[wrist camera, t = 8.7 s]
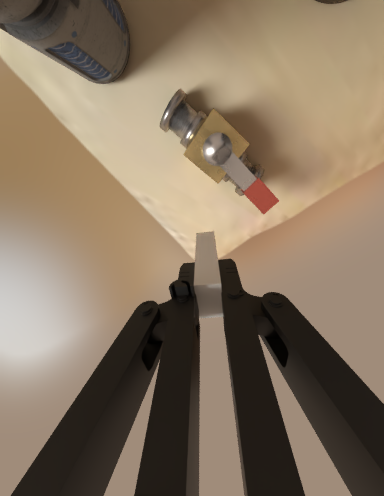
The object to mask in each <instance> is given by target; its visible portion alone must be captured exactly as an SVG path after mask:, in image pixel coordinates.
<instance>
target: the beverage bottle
mask: <svg viewBox="0 0 384 496" xmlns="http://www.w3.org/2000/svg"><path fill="white" fill-rule="evenodd" d="M0 28H1V29H2V30H4V31H6V32H7V33H9V34H10V35H12V36H13V37H15V38H17V39H19V40H20V41H22V42H24V43H25V44H27V45H29V46H31V47H32V48H34V49H36V50H37V51H39V52H41V53H43V54H44V55H46V56H48V57H50V58H51V59H53V60H55V61H56V62H58V63H60V64H62V65H63V66H65V67H67V68H68V69H70V70H72V71H74V72H75V73H77V74H79V75H81V76H82V77H84V78H86V79H87V80H89V81H92V82H94V83H98V84H107V83H110V82H113V81H115V80H116V79H117V78H118V77H119V76H120V75H121V74H122V72H123V71H124V69H125V67H126V65H127V61H128V57H129V50H130V38H129V31H128V25H127V22H126V19H125V16H124V13H123V11H122V9H121V7H120V4H119V3H118V1H117V0H0Z"/></svg>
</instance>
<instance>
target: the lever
mask: <svg viewBox="0 0 384 496" xmlns="http://www.w3.org/2000/svg"><path fill="white" fill-rule="evenodd" d="M203 155H204V158H205V160H206V161H207V162H208V163H209V164H211V165H213V166H220V167H221V168H222V169H223V170H224V171H225V172H226V173H227V174H228V175H229V176H230V177H231V178H232V179H233V180H234V181H235V182H236V184H237V185H238V186H239V187H240V188H241V191H242V192H243V193H244V194H245V195H246V196H247V198H248V199H249V200H250V201H251V202H252V203H253V204H254V205H255V206H256V207H257V208H258V209H259V210H260V211H261V212H262V213H263V214H265V213H266V212H267V211H268V210H269V209H271V208H272V207H273V206H274V205H275V204H276V203H277V202H279V200H278V199H277V198H276V197H275V196H274V194H273V193H272V192H271V191H270V190H269V189H268V188H267V187H266V185H265V184H264V183H263V182H262V181H261V180H260V179H259V178H258V177H256V176H254V175H253V174H252V173H251V172H250V171H249V170H248V168H247V167H246V166H245V165H244V164H243V163H242V162H241V161H240V160H239V158H238V157H237V156H236V155H235V154H234V153H233V152H232V143H231V140H230V139H229V137H228V136H227V135H225V134H224V133H213V134H211V135H210V136H209V137H208V138H207V139H206V140H205V142H204V145H203Z"/></svg>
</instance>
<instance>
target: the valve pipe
mask: <svg viewBox="0 0 384 496" xmlns="http://www.w3.org/2000/svg"><path fill="white" fill-rule="evenodd" d="M186 97H187V94H186V93H185V92H184V91H183V90H182V89H179V90H178V91H177V92H176V93H175V94H174V96H173V97H172V99H171V100H170V102H169V104H168V106H167V108H166V110H165V112H164V114H163V116H162V119H161V122H160V128H161V129H162V130H163V131H165V132H167V131H168V130H169V129H170V130H171V131H173V132H174V133H175V134H176V135H177V136H178V137H180V138H181V139H182V140H181V142H180V143H181V144H182V145H183V146H184V147H185V148H186V149H187V150H186V151H185V153H184V156H186V157H187V158H188V159H189V160H190V161H192V162H193V163H194V164H195V165H196V166H197V167H199V168H200V169H201V170H202V171H203V172H205V173H206V174H207V175H208V176H209V177H211V178H212V179H213V180H214V181H215V182H217V183H219V182H220V181H221V180H222V179H223V180H224V181H225V182H227V181H228V180H229V181H230V182H231V183H233V184H234V185H235V186H236V189H235V192H236V193H237V194H238V195H240V196H242V195H244V193H243V192H242V191H241V188H240V187H239V186H238V185H237V184H236V182H235V181H234V180H233V179H232V178H231V177H230V176H229V175H228V174H227V173H226V172H225V171H224V170H223V169H222V168H221V167H220V166H213V165H211V164H209V163H208V162H207V161H206V160H205V158H204V155H203V145H204V142H205V140H206V139H207V138H208V137H209V136H210V135H211V134H213V133H224V134H225V135H227V136H228V137H229V139H230V140H231V143H232V152H233V153H234V154H235V155H236V156H237V157H238V158H239V160H240V161H241V162H242V163H243V164H244V165H245V166H246V167H247V168H248V170H249V171H250V172H251V173H252V174H253V175H254V176H256V177H258V178H259V179H261V177H262V175H263V173H264V168H263V167H262V166H260V165H256V166H253V165H252V164H251V163H250V162H249V161H248V160H247V159H246V158H247V154H246V153H245V152H244V151H245V150H246V148H247V147H248V146H249V145H250V144H249V143H248V142H247V141H246V140H245V139H244V138H243V137H242V136H241V135H240V134H239V133H238V132H237V131H236V130H235V129H234V128H233V127H232V126H231V125H230V124H229V123H228V122H227V121H226V120H225V119H224V118H223V117H222V116H221V115H220V114H219V113H218V112H217V111H216V110H215V109H214V108H213V109H212V111H211V113H210V114H209V116H208V117H207V116H206V115H205V114H204V113H203V112H202V111H201V110H200V111H199V112H198V113H197V112H196V111H195V110H194V109H193V108H192V107H191V106H189V105H188V104H187V103H186V102H185V100H186Z"/></svg>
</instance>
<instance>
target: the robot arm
mask: <svg viewBox="0 0 384 496" xmlns="http://www.w3.org/2000/svg"><path fill="white" fill-rule="evenodd" d="M316 1H318V2H321V3H327V4H333V3H340V2H343V1H346V0H316ZM169 290H170V294H171V297H172V299H171V300H169V301H167V302H165V303H162V304H159V305H158V304H157V303H156V302H154V301H146V302H143V303H142V304H140V305H139V306H138V307H137V308H136V310H135V311H134V313H133V314H132V316H131V317H130V319H129V320H128V322H127V323H126V325H125V326H124V328H123V329H122V330H121V332H120V334H119V335H118V337H117V338H116V339H115V341H114V343H113V344H112V345H111V347H110V348H109V350H108V351H107V353H106V354H105V356H104V357H103V359H102V360H101V362H100V363H99V365H98V366H97V368H96V369H95V371H94V372H93V374H92V375H91V377H90V378H89V380H88V381H87V383H86V384H85V386H84V387H83V389H82V390H81V392H80V393H79V395H78V396H77V398H76V399H75V401H74V402H73V404H72V405H71V406H70V408H69V410H68V411H67V412H66V414H65V415H64V417H63V418H62V420H61V422H60V423H59V424H58V426H57V427H56V429H55V430H54V432H53V433H52V435H51V436H50V438H49V439H48V441H47V442H46V444H45V445H44V447H43V448H42V450H41V451H40V453H39V454H38V456H37V457H36V459H35V460H34V462H33V463H32V465H31V466H30V468H29V469H28V471H27V472H26V474H25V475H24V477H23V478H22V480H21V481H20V482H19V484H18V485H17V487H16V488H15V490H14V491H13V493H12V495H11V496H103V495H104V493H105V491H106V488H107V486H108V483H109V481H110V479H111V476H112V474H113V471H114V469H115V466H116V464H117V462H118V459H119V457H120V454H121V452H122V450H123V447H124V445H125V442H126V440H127V437H128V435H129V433H130V430H131V428H132V425H133V423H134V421H135V418H136V416H137V413H138V411H139V408H140V406H141V403H142V401H143V399H144V396H145V394H146V392H147V389H148V386H149V384H150V382H151V379H152V377H153V375H154V372H155V370H156V367H157V365H158V362H159V360H160V363H159V369H158V373H157V379H156V384H155V389H154V394H153V400H152V405H151V410H150V416H149V421H148V427H147V432H146V437H145V442H144V448H143V452H142V458H141V463H140V468H139V474H138V479H137V484H136V489H135V494H134V496H199V387H200V386H199V384H200V383H199V382H200V381H199V379H200V377H199V376H200V324H199V318H209V317H223V318H224V331H225V337H226V345H227V353H228V362H229V370H230V379H231V387H232V395H233V404H234V412H235V420H236V428H237V437H238V445H239V454H240V462H241V469H242V478H243V487H244V495H245V496H305V494H304V490H303V487H302V483H301V480H300V477H299V473H298V470H297V466H296V463H295V459H294V456H293V453H292V449H291V446H290V442H289V439H288V436H287V432H286V429H285V426H284V422H283V418H282V415H281V411H280V408H279V405H278V401H277V398H276V394H275V391H274V388H273V384H272V381H271V378H270V374H269V370H268V367H267V364H266V360H265V357H264V354H263V350H262V346H261V343H260V340H259V336H258V335H260V337H261V338H262V340H263V342H264V344H265V345H266V347H267V349H268V351H269V352H270V354H271V356H272V357H273V359H274V361H275V363H276V364H277V366H278V368H279V369H280V371H281V373H282V375H283V377H284V378H285V380H286V382H287V383H288V385H289V387H290V389H291V390H292V392H293V394H294V396H295V397H296V399H297V401H298V403H299V404H300V406H301V408H302V410H303V411H304V413H305V415H306V417H307V418H308V420H309V422H310V423H311V425H312V427H313V429H314V430H315V432H316V434H317V436H318V437H319V439H320V441H321V443H322V444H323V446H324V448H325V450H326V451H327V453H328V455H329V456H330V458H331V460H332V461H333V463H334V465H335V467H336V469H337V470H338V472H339V474H340V475H341V477H342V479H343V481H344V483H345V484H346V486H347V488H348V489H349V491H350V493H351V494H352V496H384V404H383V403H382V402H381V401H380V400H379V398H378V397H377V396H376V395H375V394H374V393H373V392H372V391H371V390H370V389H369V388H368V386H367V385H366V384H365V383H364V382H363V381H362V380H361V379H360V378H359V377H358V375H357V374H356V373H355V372H354V371H353V370H352V369H351V368H350V367H349V365H347V363H346V362H345V361H344V360H343V359H342V358H341V357H340V356H339V354H338V353H337V352H336V351H335V350H334V349H333V348H332V347H331V346H330V345H329V343H328V342H327V341H326V340H325V339H324V338H323V337H322V336H321V335H320V334H319V332H318V331H317V330H316V329H315V328H314V327H313V326H312V325H311V324H310V323H309V321H308V320H307V319H306V318H305V317H304V316H303V315H302V314H301V313H300V312H299V310H298V309H297V308H296V307H295V306H294V305H293V304H292V303H291V302H290V301H289V300H288V298H286V297H285V296H284V295H282V294H280V293H276V292H269V293H266V294H264V295H263V297H257V296H253V295H250V294H248V293H247V292H245V291H244V290H243V288H242V285H241V281H240V278H239V275H238V271H237V267H236V264H235V262H234V261H233V260H232V259H223V260H218V257H217V250H216V243H215V236H214V231H213V232H204V233H197V236H196V254H195V262H194V263H184V264H183V265H182V266H181V268H180V272H179V278H178V280H176V281H174V282H173V283H171V284H170V286H169Z"/></svg>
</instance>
